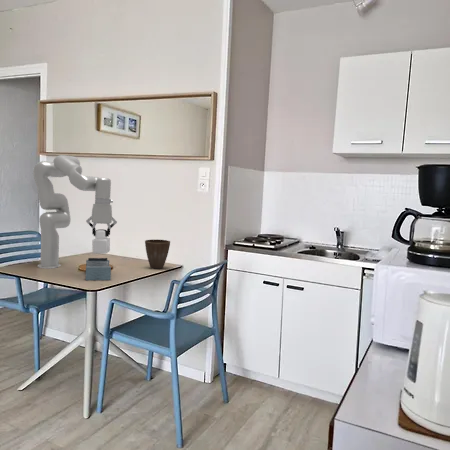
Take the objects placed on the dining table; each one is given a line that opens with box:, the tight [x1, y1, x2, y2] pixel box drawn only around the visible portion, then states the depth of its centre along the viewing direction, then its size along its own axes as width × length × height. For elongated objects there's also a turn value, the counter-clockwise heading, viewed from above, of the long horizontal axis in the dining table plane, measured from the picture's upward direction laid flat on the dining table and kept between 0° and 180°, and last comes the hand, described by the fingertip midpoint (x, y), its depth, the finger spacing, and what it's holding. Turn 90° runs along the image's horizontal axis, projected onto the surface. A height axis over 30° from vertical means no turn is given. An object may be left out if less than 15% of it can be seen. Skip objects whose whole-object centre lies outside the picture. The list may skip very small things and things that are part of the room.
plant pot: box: [144, 239, 171, 270], centre depth 253 cm, size 15×15×16 cm
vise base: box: [85, 265, 112, 281], centre depth 225 cm, size 25×12×6 cm, turn 18°
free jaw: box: [85, 257, 110, 267], centre depth 232 cm, size 3×12×6 cm, turn 108°
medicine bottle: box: [92, 228, 111, 255], centre depth 223 cm, size 7×7×12 cm
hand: (101, 235), depth 223 cm, fingers closed on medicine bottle, 6 cm apart
